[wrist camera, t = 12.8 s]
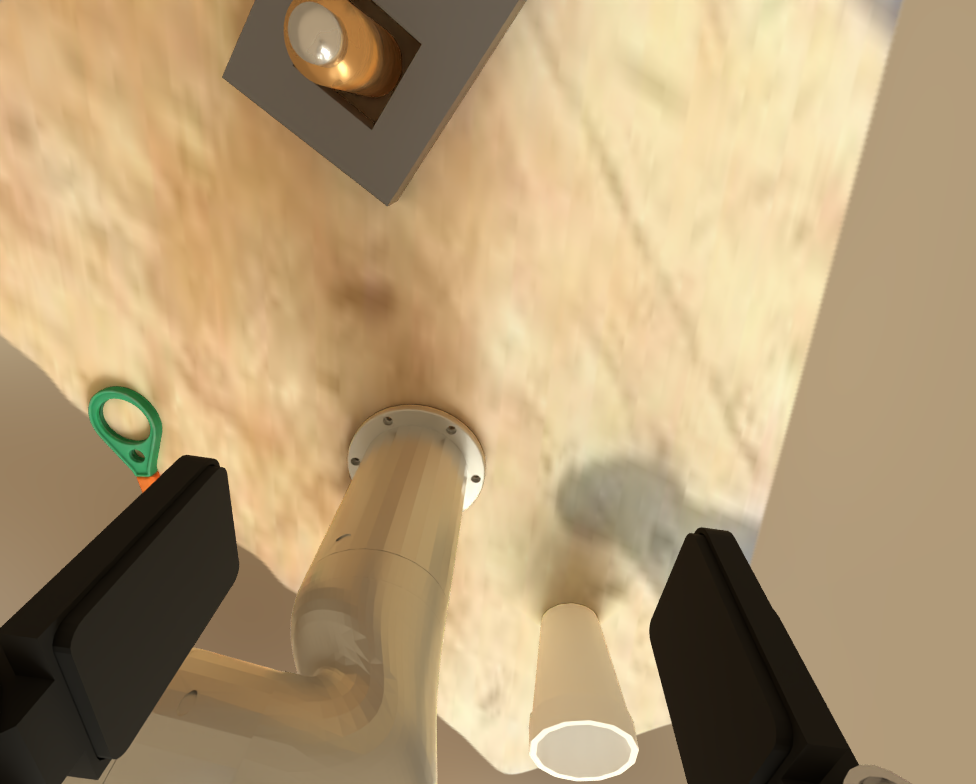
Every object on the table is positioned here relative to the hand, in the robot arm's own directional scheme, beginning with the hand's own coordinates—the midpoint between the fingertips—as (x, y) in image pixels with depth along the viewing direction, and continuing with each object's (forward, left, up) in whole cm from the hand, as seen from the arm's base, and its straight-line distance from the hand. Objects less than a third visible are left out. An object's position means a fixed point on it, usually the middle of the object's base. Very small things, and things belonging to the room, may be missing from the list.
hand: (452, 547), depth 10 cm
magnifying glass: (-36, +15, -31) cm, 50 cm away
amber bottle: (+4, +14, -30) cm, 34 cm away
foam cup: (-27, -31, -31) cm, 51 cm away
